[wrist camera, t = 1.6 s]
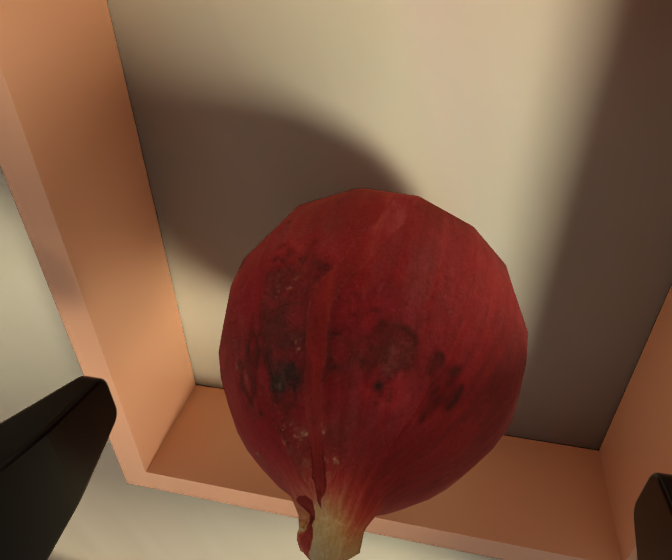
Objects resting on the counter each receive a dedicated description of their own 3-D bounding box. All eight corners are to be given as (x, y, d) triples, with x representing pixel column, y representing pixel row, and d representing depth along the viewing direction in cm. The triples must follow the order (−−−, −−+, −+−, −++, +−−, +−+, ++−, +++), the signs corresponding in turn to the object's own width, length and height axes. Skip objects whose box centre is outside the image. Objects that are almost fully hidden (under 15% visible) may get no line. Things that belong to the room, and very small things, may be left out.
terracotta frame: (911, -123, 8) (1136, -128, 5) (619, 471, 17) (646, 588, 14) (44, -111, 11) (-110, -111, 8) (178, 397, 19) (127, 483, 16)
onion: (244, 176, 13) (33, 435, 7) (474, 91, 11) (464, 363, 5) (339, 347, 16) (247, 645, 10) (541, 308, 14) (590, 664, 8)
